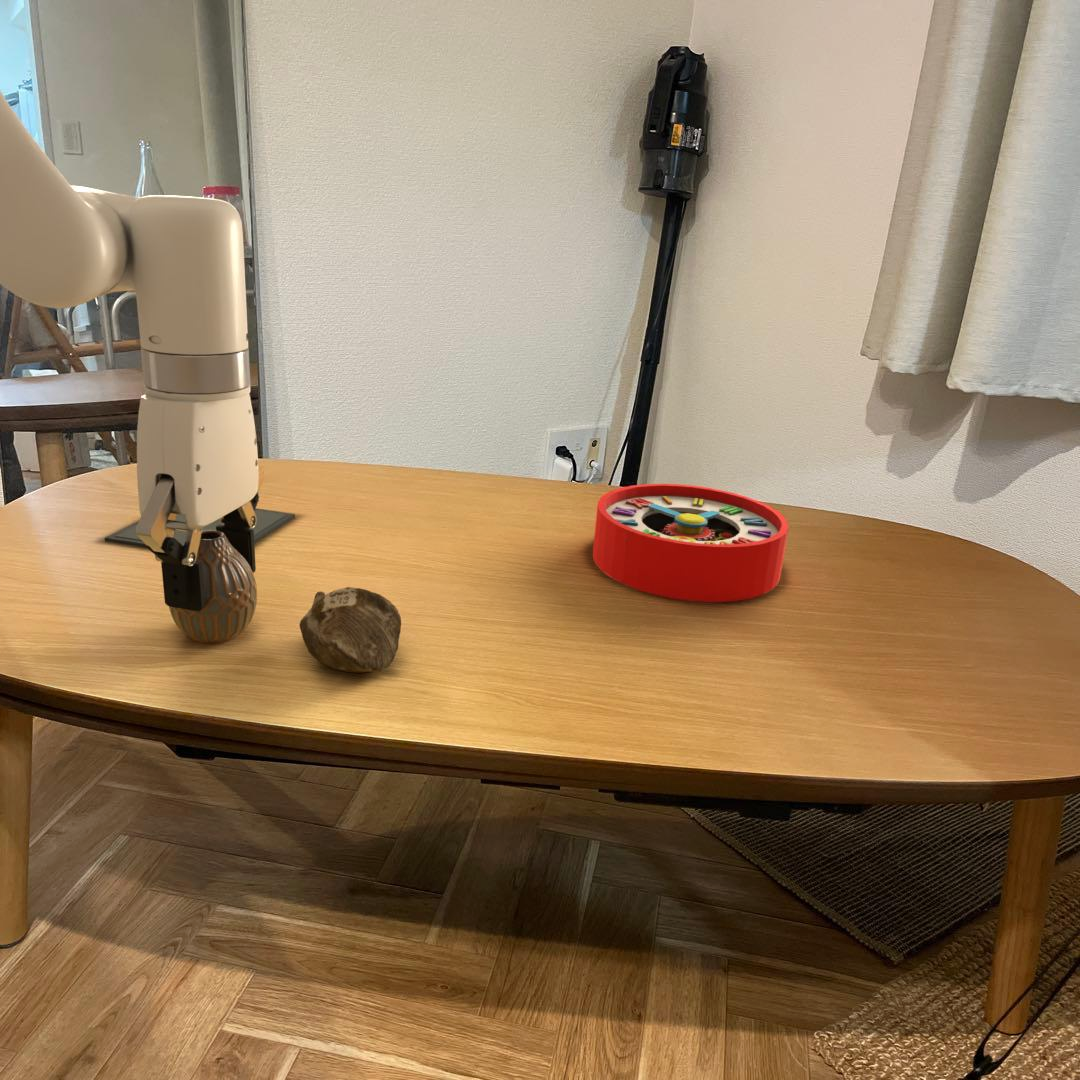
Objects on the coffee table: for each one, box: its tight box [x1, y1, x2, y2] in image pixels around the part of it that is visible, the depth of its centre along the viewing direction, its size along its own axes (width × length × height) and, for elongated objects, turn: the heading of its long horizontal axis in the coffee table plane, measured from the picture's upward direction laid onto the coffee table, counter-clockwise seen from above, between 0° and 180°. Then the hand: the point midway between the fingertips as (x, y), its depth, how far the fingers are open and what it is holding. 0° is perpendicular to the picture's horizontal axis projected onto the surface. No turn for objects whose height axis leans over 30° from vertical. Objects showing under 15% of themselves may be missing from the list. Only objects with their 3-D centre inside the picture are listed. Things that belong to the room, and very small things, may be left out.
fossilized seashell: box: [299, 586, 402, 674], centre depth 72 cm, size 8×7×10 cm
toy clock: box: [592, 483, 790, 603], centre depth 96 cm, size 20×6×20 cm
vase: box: [168, 530, 258, 644], centre depth 73 cm, size 7×7×9 cm
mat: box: [104, 508, 296, 549], centre depth 97 cm, size 14×14×1 cm
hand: (212, 587), depth 74 cm, fingers closed on vase, 6 cm apart
